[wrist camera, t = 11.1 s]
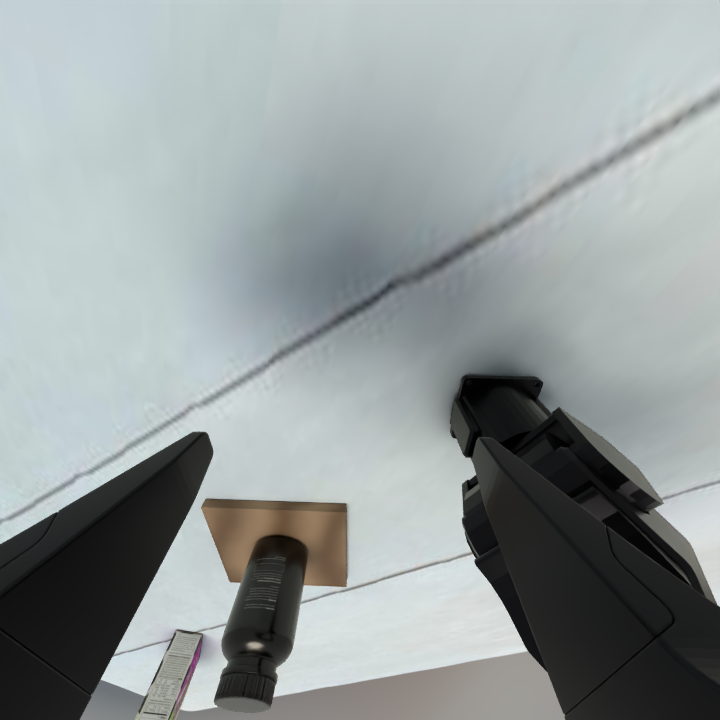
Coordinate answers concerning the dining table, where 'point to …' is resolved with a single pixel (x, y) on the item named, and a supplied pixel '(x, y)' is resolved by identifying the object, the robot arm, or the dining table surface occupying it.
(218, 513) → the walnut board
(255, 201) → the dining table surface
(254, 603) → the supplement bottle
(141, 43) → the dining table surface
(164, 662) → the candy bar box
